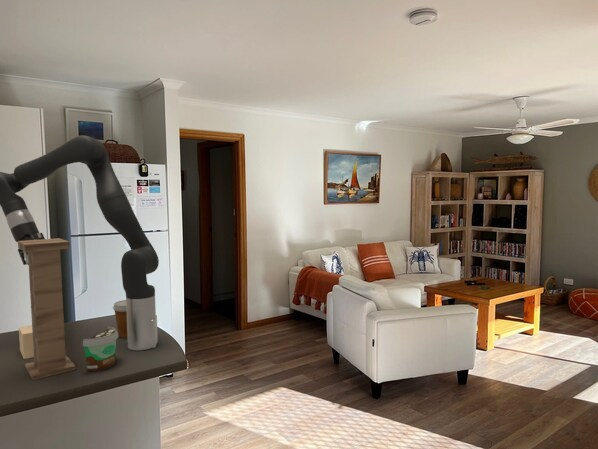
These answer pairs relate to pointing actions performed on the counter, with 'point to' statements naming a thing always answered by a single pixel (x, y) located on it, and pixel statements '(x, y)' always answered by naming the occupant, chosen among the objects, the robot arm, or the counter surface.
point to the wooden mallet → (26, 341)
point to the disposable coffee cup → (121, 317)
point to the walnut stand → (46, 307)
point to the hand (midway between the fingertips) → (41, 268)
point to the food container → (101, 350)
